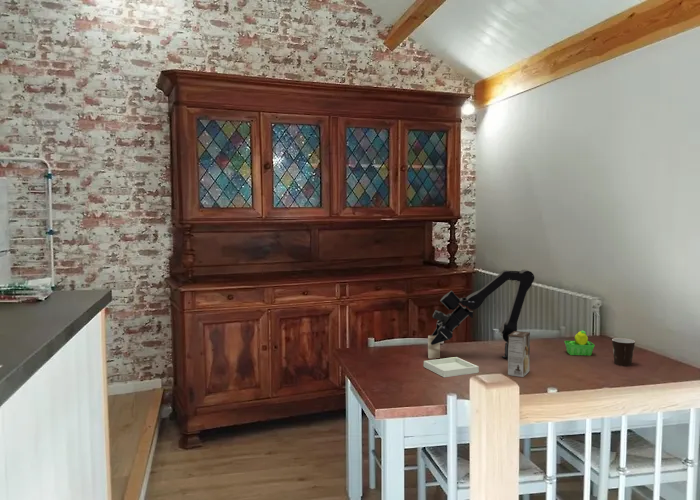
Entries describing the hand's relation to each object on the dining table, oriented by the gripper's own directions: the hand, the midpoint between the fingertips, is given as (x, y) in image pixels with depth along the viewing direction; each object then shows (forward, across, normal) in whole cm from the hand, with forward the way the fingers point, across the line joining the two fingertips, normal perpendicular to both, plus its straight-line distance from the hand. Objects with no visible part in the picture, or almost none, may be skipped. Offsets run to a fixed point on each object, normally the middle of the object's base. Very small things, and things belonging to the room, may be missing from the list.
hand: (431, 341), depth 244 cm
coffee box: (-19, +22, +29) cm, 41 cm away
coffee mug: (-51, +6, +60) cm, 79 cm away
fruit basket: (-42, -10, +52) cm, 67 cm away
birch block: (+4, 0, +6) cm, 7 cm away
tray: (0, +20, +10) cm, 22 cm away
